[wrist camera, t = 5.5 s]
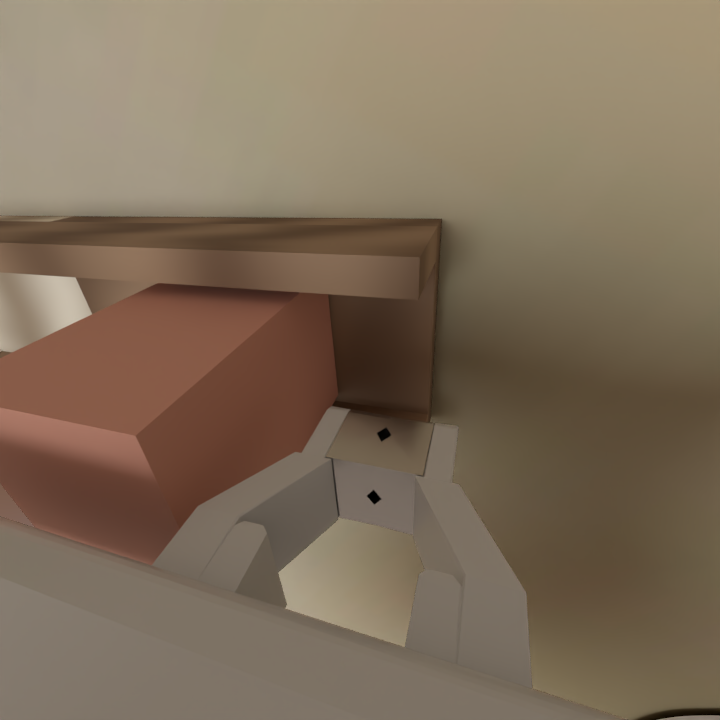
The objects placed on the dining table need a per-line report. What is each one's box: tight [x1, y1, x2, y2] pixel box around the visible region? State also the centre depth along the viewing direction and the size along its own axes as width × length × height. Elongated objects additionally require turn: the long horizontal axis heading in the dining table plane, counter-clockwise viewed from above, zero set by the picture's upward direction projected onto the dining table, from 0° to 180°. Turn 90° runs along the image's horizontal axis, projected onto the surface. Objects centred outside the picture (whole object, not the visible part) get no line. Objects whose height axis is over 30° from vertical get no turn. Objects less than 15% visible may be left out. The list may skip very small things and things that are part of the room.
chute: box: [0, 216, 442, 422], centre depth 15 cm, size 23×8×4 cm, turn 93°
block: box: [0, 283, 338, 565], centre depth 11 cm, size 5×5×8 cm
